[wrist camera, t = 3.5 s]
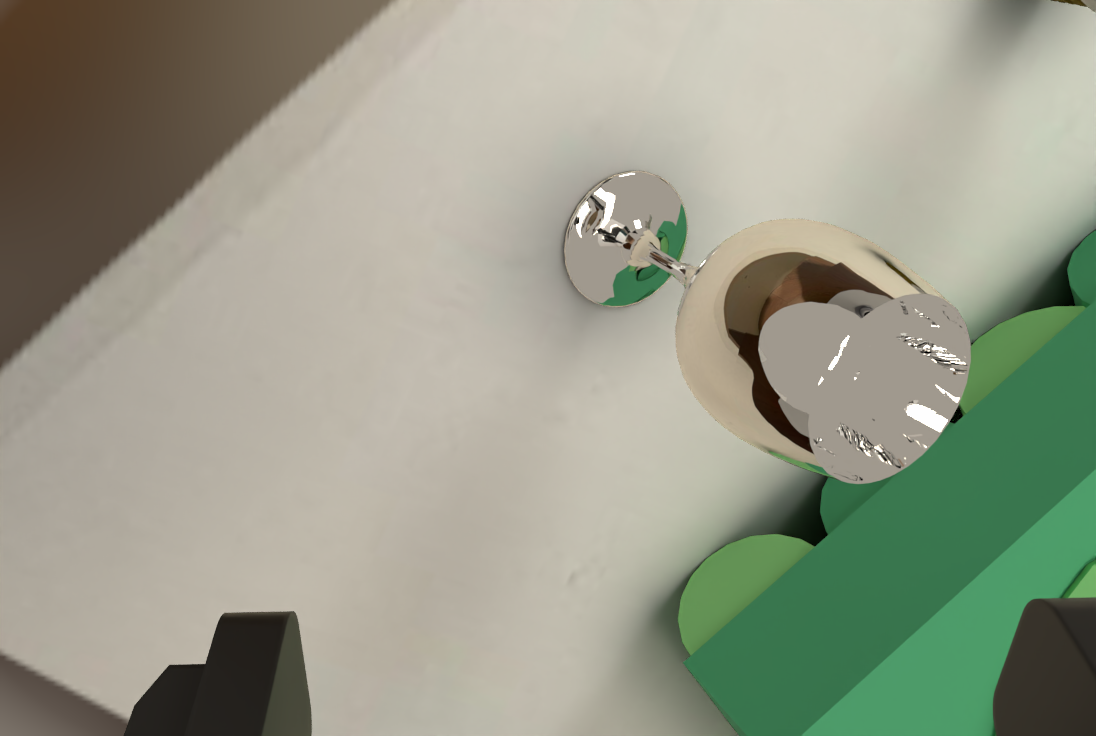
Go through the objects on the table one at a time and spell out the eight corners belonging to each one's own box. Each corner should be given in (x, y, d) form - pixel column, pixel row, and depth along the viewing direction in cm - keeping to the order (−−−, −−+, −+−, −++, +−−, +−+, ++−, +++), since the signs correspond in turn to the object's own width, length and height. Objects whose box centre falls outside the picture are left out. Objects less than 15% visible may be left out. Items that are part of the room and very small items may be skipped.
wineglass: (514, 293, 32) (742, 475, 22) (596, 119, 31) (874, 230, 21) (652, 346, 35) (906, 526, 25) (731, 190, 34) (1028, 315, 24)
